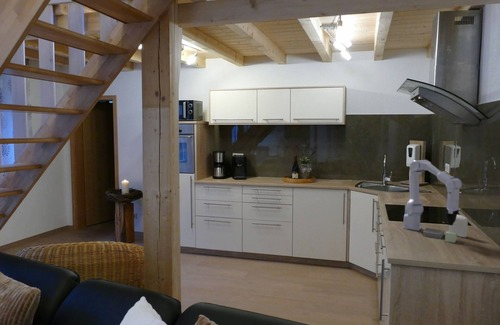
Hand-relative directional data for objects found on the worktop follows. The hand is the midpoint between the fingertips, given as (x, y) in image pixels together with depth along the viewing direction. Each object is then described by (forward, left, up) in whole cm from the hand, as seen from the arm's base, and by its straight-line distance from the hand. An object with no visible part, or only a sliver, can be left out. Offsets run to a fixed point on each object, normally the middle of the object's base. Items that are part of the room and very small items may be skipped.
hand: (451, 223), depth 216 cm
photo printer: (+2, +14, -10) cm, 17 cm away
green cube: (0, 0, -10) cm, 10 cm away
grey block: (-10, +6, -10) cm, 16 cm away
